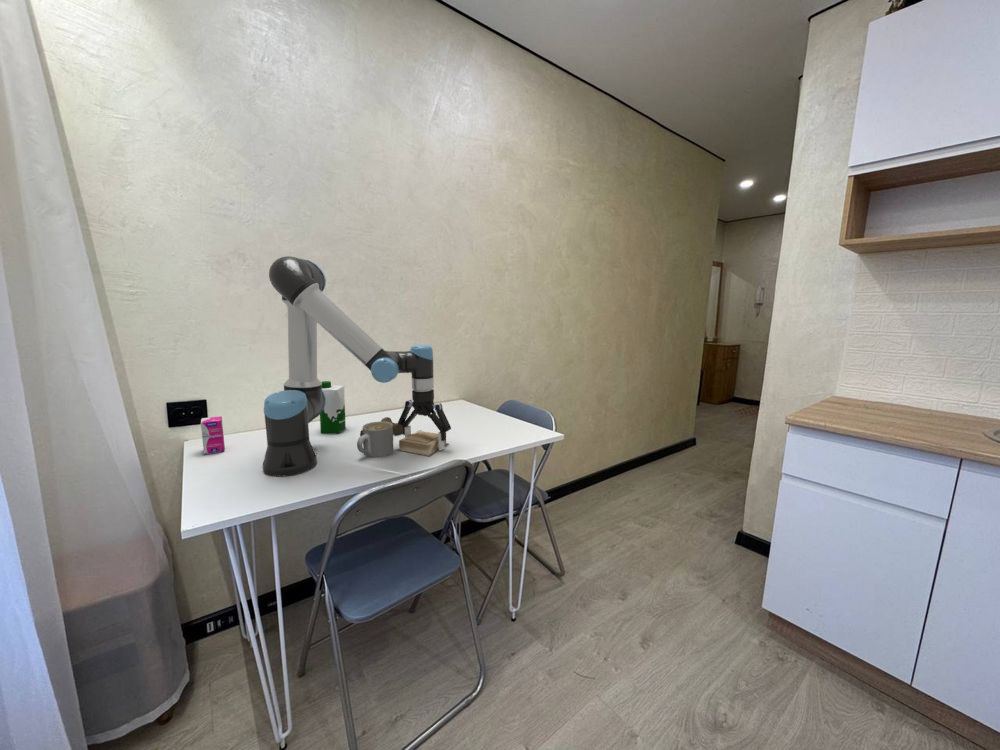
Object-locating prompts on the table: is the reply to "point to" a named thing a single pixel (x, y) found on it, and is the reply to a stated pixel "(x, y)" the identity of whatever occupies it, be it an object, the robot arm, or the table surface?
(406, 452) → the mat
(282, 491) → the table surface
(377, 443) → the coffee mug
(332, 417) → the milk carton
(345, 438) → the table surface
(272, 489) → the table surface
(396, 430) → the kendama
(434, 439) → the lid
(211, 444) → the supplement box
